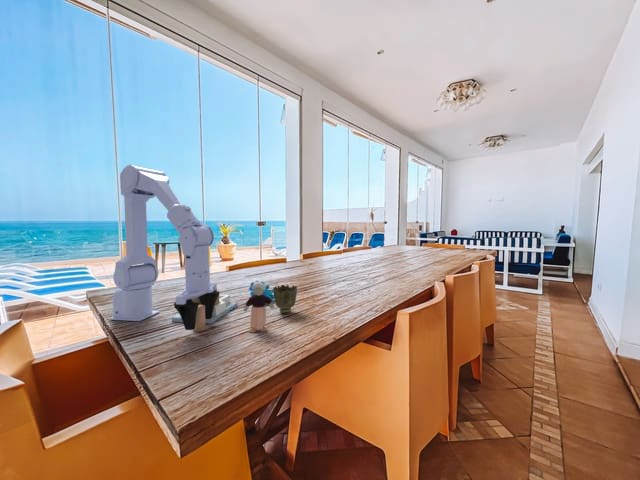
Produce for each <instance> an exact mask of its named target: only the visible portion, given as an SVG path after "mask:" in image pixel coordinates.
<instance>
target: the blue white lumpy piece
mask: <svg viewBox="0 0 640 480" xmlns="http://www.w3.org/2000/svg"><path fill="white" fill-rule="evenodd" d="M255 282H260V281H258V280H255V281H254V282H251V283H250V286H249V287H248V290H249V291H250V292H249V294H250V297H251V296H253V295H255V294H254V291H253V289H252V287H253V284H254V283H255ZM261 283H263V284H264V286H265V282H264V281H261ZM273 289H274V288H271V289H270V285H269V284H267V285H266V286H265V290H264V292H263V294H262V295H265V296H267V297H269V298H270V299H271V300H272V303H274V302H275V300H274V292H273ZM265 306H270V305H269V304H266V303H265Z"/></svg>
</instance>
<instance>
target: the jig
mask: <svg viewBox="0 0 640 480" xmlns="http://www.w3.org/2000/svg"><path fill="white" fill-rule="evenodd" d="M236 306H237V307H238V302H233V301H231V295H230V294H219V304H217V305H215V306H214V309H213V314H212V318H211V319H205V324H213V323H214V322H216V321H217V320H219V319H221V318H222V317H223V316H225V315H226V314H227V313H230V312H231V311H232V310H233V308H234V309H235V308H237V307H236ZM230 310H231V311H230ZM171 322H174V323H175V322H177V323H183V321H182V318H181V316H180V314H179V313H178V314H175V315H174V316H172V317H171Z"/></svg>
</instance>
